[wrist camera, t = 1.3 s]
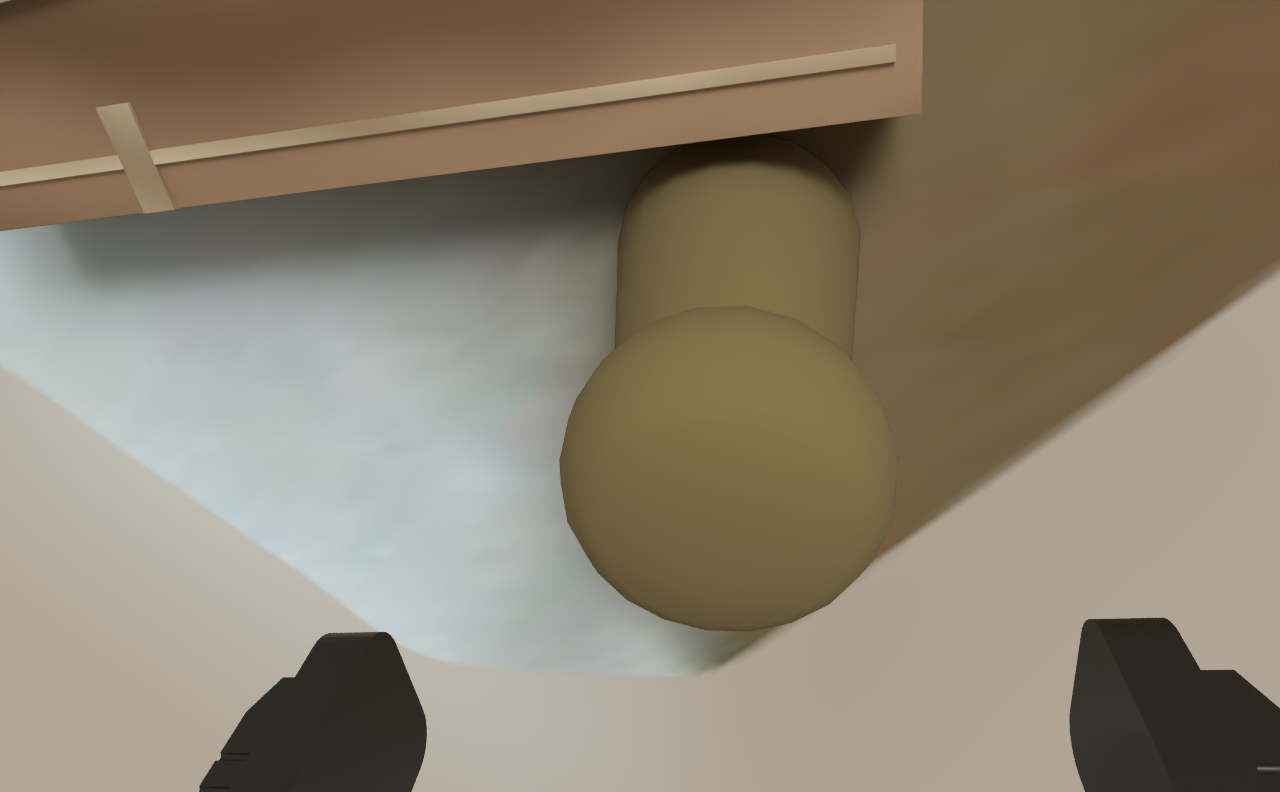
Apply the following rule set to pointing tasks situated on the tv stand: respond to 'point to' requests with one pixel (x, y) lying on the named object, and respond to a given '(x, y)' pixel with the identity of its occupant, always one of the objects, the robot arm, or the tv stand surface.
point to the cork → (732, 397)
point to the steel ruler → (5, 1)
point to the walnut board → (408, 89)
